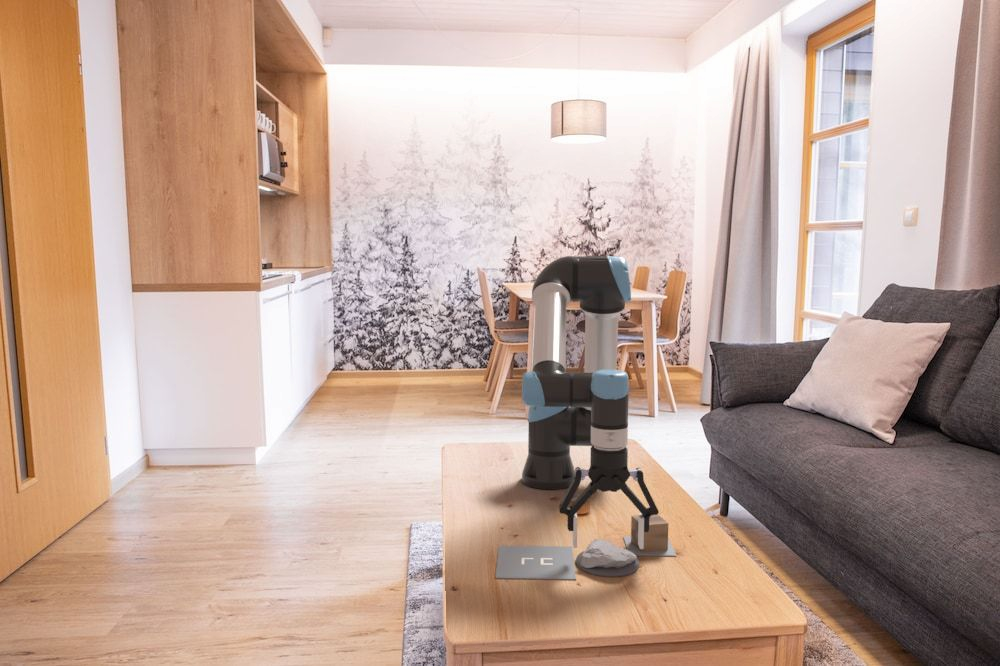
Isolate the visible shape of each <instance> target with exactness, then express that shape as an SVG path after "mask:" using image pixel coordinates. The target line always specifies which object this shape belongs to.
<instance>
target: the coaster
mask: <svg viewBox="0 0 1000 666" xmlns="http://www.w3.org/2000/svg"><path fill="white" fill-rule="evenodd" d="M584 551H585V550H583V551H581V552H580V553H579V554H577V556H576V559H575V563H576V565H577V568H579V569H580V570H581V571H583V572H585V573H586V574H589V575H594V576H598V577H604V578H618V577H619V578H621V577H626V576H630V575H632V574H634V573H637V571H638V570H639V568H640V560H639V559H638V558H637V559H636V560H635V561H634V562H631V563H630V564H627V565H626V566H623V567H619V568H616V567H609V568H603V567H591V568H585V567H583V566H581V565H580V563H581V557H582V554H583V553H584Z"/></svg>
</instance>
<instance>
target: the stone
mask: <svg viewBox="0 0 1000 666" xmlns="http://www.w3.org/2000/svg"><path fill="white" fill-rule="evenodd" d="M583 551H584V553H583V554H582V557H581V563H580V565H581V566H583V567H585V568H591V567H603V568H609V567H616V568H619V567H623V566H626V565H627V564H630V563H631V562H634V561H635V560H636V559H638V556H636V555H634V553H633V552H632V551H628V550H627V548H623V547H621V546H615V544H614V543H613V542H611V541H610V540H607V539H605V540H604V539H600V538H594V539H593V540H592V541H590V543H589V544H588V546H587V547H586V549H585V550H583Z"/></svg>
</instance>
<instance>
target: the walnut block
mask: <svg viewBox="0 0 1000 666" xmlns="http://www.w3.org/2000/svg"><path fill="white" fill-rule="evenodd" d="M630 516H631V522H630V525H631V526H630V527H631V528H630V531H631V533H630V537H631V542H632V543H633V544H634V545H635V546H636V547H637V548H638V549H639V550H640V551H641V552H652V551H662V550H668V538H669V522H667V521H666V520H665V519H664V518H663V517H662V516H661V515H659V513H658V514H657V515H652V516H650V518H649V531H648V532H644V549H640V548H639V545H638V517H639V514H636V515H634V514H633V515H630Z"/></svg>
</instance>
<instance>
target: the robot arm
mask: <svg viewBox="0 0 1000 666" xmlns="http://www.w3.org/2000/svg"><path fill="white" fill-rule="evenodd" d="M631 289H632V288H631V280H630V273H629V265H628V262H627V260H626V259H625V258H624V257H622V256H612V255H594V256H593V255H589V256H587V255H585V256H584V255H583V256H581V255H580V256H578V255H577V256H573V255H567V256H562V257H559V258H557V259H555V260H553V261H551V262H550V263H549V264H547V265H546V266H544V268H543V269H542V270H541V271H540V272H539V274H538V275H537V277H536V278H535V281H534V283H533V286H532V290H531V302H532V304H533V306H534V307H535V309H534V327H533V328H534V330H533V343H532V344H533V348H532V364H531V365H532V366H531V370H530V371H526V372H524V373H523V374H522V378H521V379H522V381H521V394H522V395H521V399H522V403H523V404H524V405H525V406H527V407H528V415H527V416H528V418H527V422H528V440H527V441H528V448H527V449H528V451H527V452H528V455H527V456H526V457H527V458H526V459H525V460H526V461H525V463H524V466H523V469H522V472H521V481H522V483H523V484H524V485H526V486H528V487H531V488H533V489H538V490H539V489H541V490H561V489H566V488H567V490H566V492H565V494H564V495H563V497H562V499H561V502H560V504H559V505H558V511H559V513H560V514H562V515H566V516H567V530H568V532H572V549H577V548H578V514H577V513H578V511H579V510H580V509H581V508H582V507H583V506H584V505H585V503H586V502H587V501H589V499H590V498H591V497H592V496H593V495H594V494H595V493H597V491H600V492H603V493H605V492H614V493H617V492H618V491H621V492H622V493H623V495H625V496H626V497H627V498H628V500H629V501H630V502H631V503H632V504H633V505H634V506H635V508H636V509H637V510H638V511H639V512H640V513H638V515H639V517H638V545H639V548H640V549H644V532H648V531H649V518H650V516H652V515H657V514H658V515H659V513H660V512H659V509H658V507H657V505H656V503H655V502H654V499H653V497H652V494H651V493H650V491H649V489H648V487H647V486H646V483H645V480H644V472H643V470H642V468H641V467H636V468H635V469H630V470H629V468H628V457H629V456H628V450H629V449H628V448H627V446H628V445H629V442H628V440H629V437H628V436H629V421H628V420H629V395H630V383H629V375H628V373H627V372H626V371H624V370H623V371H622V370H619V369H617V367H618V366H617V363H618V340H619V315H620V314H621V313H622V312H623V311H625V307H626V303H630V302H631V301H632V293H631V292H632V290H631ZM570 302H572V303H574V302H575V303H579V309H580V310H581V311H582V312H583V313H584V315H585V317H584V318H585V321H584V322H585V323H584V325H585V327H584V331H585V332H584V372H572V371H570V372H568V371H567V370H566V369H567V368H566V367H567V365H566V363H567V360H566V359H567V356H566V355H567V307H568V306H569V305H570ZM566 371H567V372H566ZM571 446H573V447H575V446H577V447H590V460H589V461H590V466H589V469H585V468H581V467H579V466H576V467H574V463H573V460H572V457H571V450H570V449H571ZM586 477H588V478H589V480H590V482H589V483H588V484H587V486H586V487H585V489H584V490H583V491H582V492H581V493H580V494H579V496H578V497H576V499H575V500H574V501H573V502H572V499H573V498H574V496H575V494H576V492H577V490H578V488H579V487H580V484H581V481H584V480H585V479H586ZM630 477H631V478H632V479H633V481H635V482H637V484H638V486H639V488H640V490H641V492H642V494H643V496H644V499H645V501H646V502H647V504H648V506H649V507H646V506H645V504H644V503H643V502H642V501H641V500H640V498H638V496H637V495H636V494H635V493H634V492H633V490H632V489H631V488H630V487H629V485H628V484H627V483H626V482H627V481H628V479H630ZM571 502H572V503H571ZM570 503H571V505H570Z"/></svg>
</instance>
